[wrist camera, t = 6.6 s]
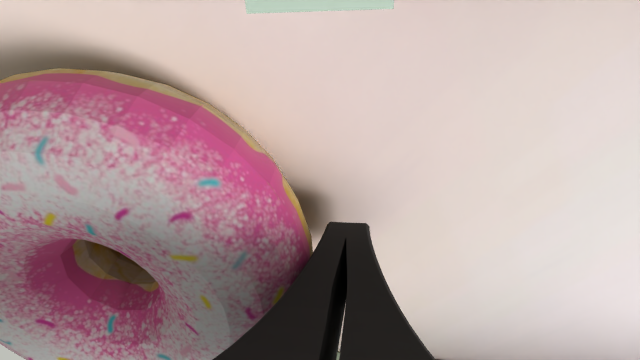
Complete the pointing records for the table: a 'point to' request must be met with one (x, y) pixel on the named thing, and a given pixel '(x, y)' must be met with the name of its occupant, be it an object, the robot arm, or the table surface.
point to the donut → (135, 221)
